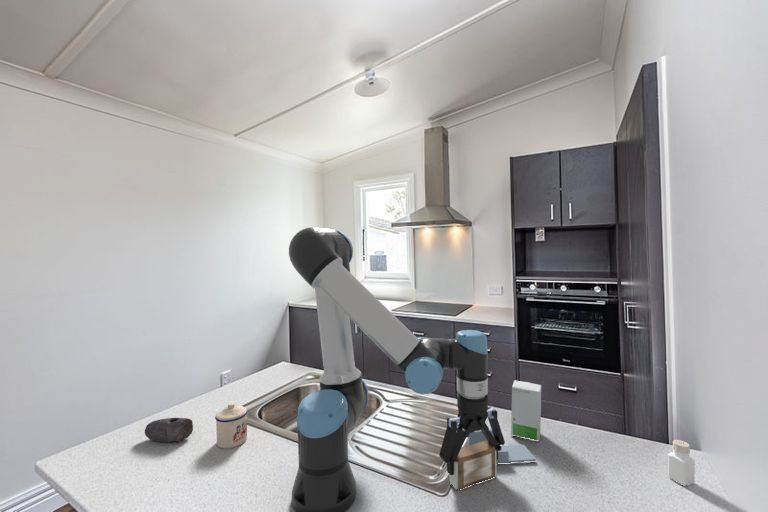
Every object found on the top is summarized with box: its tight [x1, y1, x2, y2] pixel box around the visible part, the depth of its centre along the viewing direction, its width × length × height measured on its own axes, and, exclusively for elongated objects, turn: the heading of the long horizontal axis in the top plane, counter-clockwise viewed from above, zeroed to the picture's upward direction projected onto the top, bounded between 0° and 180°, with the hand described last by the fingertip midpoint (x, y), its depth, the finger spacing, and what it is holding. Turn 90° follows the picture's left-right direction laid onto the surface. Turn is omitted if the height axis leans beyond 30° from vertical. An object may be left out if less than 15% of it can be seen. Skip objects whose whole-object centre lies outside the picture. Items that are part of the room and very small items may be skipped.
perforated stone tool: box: [144, 417, 194, 443], centre depth 110 cm, size 15×5×7 cm, turn 83°
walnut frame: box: [451, 441, 496, 491], centre depth 89 cm, size 11×4×8 cm, turn 113°
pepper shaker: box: [667, 439, 696, 487], centre depth 87 cm, size 4×4×10 cm
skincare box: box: [510, 379, 542, 441], centre depth 109 cm, size 8×7×16 cm
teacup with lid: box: [214, 402, 248, 449], centre depth 110 cm, size 12×9×12 cm
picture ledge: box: [467, 428, 537, 464], centre depth 98 cm, size 24×7×6 cm, turn 93°
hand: (473, 479), depth 89 cm, fingers closed on walnut frame, 11 cm apart
